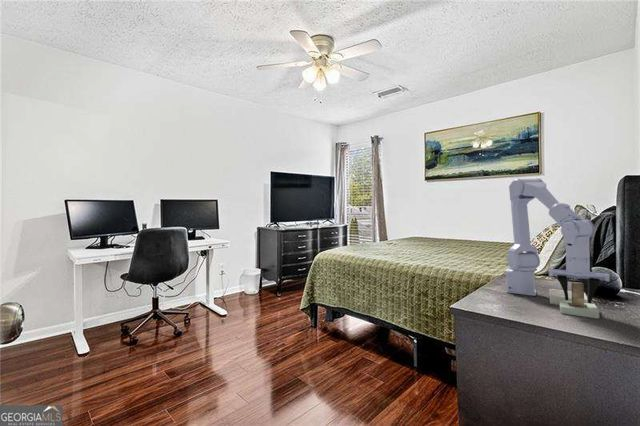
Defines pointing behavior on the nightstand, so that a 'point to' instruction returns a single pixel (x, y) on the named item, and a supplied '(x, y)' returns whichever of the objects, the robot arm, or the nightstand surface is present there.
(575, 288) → the dowel
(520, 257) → the robot arm
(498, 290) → the nightstand surface
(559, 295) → the tray
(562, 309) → the holder
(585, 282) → the magazine
